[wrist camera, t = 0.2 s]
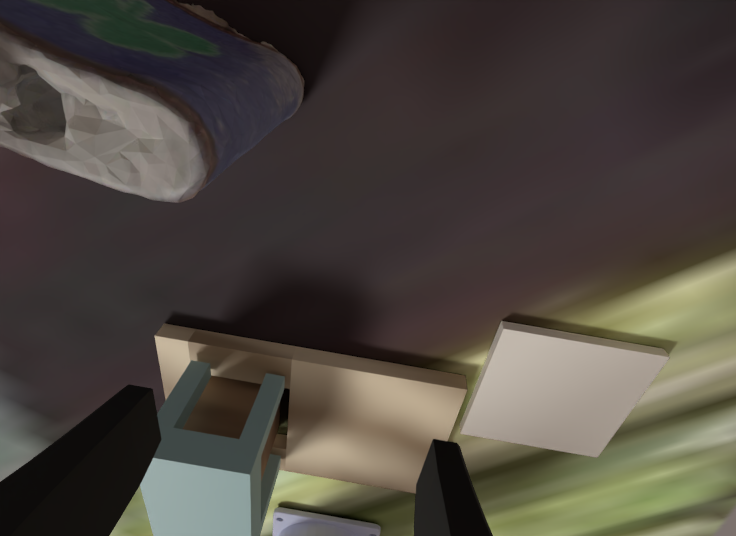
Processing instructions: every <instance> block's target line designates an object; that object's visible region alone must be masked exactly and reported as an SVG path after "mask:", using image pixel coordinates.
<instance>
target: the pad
mask: <svg viewBox="0 0 736 536" xmlns="http://www.w3.org/2000/svg"><path fill="white" fill-rule="evenodd" d="M669 358H670V357H669V355H668V354H667V353H666V351H665V350H664V349H663V348H657V347H651V346H645V345H639V344H633V343H628V342H622V341H616V340H610V339H604V338H599V337H593V336H587V335H581V334H575V333H570V332H564V331H558V330H552V329H546V328H541V327H535V326H529V325H523V324H517V323H511V322H506V321H501V323H500V326H499V328H498V330H497V333H496V335H495V338H494V340H493V343H492V345H491V348H490V350H489V353H488V355H487V358H486V360H485V363H484V365H483V368H482V370H481V373H480V375H479V378H478V380H477V383H476V385H475V388H474V390H473V392H472V395H471V397H470V400H469V402H468V405H467V407H466V410H465V412H464V415H463V417H462V420H461V422H460V425H459V426H460V434H464V435H470V436H476V437H481V438H487V439H493V440H499V441H505V442H510V443H516V444H522V445H528V446H533V447H539V448H545V449H551V450H556V451H562V452H568V453H574V454H579V455H585V456H591V457H598V456H599V455H600V453H601V452H602V451H603V449H604V448H605V446H606V445H607V444H608V442H609V441H610V439H611V438H612V437H613V435H614V434H615V433H616V431H617V430H618V428H619V427H620V426H621V424H622V423H623V422H624V420H625V419H626V417H627V416H628V415H629V413H630V412H631V411H632V409H633V408H634V406H635V405H636V404H637V402H638V401H639V400H640V398H641V397H642V395H643V394H644V393H645V391H646V390H647V388H648V387H649V386H650V384H651V383H652V382H653V380H654V379H655V377H656V376H657V375H658V373H659V372H660V371H661V369H662V368H663V366H664V365H665V364H666V362H667V361H668V360H669Z"/></svg>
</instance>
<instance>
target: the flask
mask: <svg viewBox="0 0 736 536" xmlns="http://www.w3.org/2000/svg"><path fill="white" fill-rule="evenodd" d="M303 94H304V79H303V77H302V76H301V73H300V71H299V69H298V68H297V66H296V65H295V64H293V63H292V62H291V61H290V60H289V59H288V58H287V57H286V56H285V55H283V54H281V53H280V52H278V51H277V50H276V49H275V48H274V47H273V46H272V45H271V44H267V42H264V41H262V42H261V43H257V42H255V41H251V40H250V39H248V38H247V37H245V36H243V35H242V34H241V33H237V31H236V30H235V29H234V28H231V27H230V26H228V22H227V21H225V20H223V19H221V18H219V17H217V16H216V15H215V14H214V12H213V11H208V10H205V9H204V8H203V7H201V6H200V5H194V4H192V6H190V5H189V4H187V3H186V4H184V3H178V2H177V1H176V0H175V1H174V0H0V146H1V147H5V148H8V149H10V150H12V151H14V152H16V153H18V154H20V155H22V156H24V157H28V158H32V159H34V160H36V161H38V162H40V163H42V164H44V165H46V166H49V167H52V168H55V169H59V170H62V171H65V172H69V173H72V174H75V175H78V176H81V177H84V178H87V179H89V180H92V181H94V182H97V183H100V184H102V185H105V186H108V187H110V188H113V189H116V190H118V191H121V192H126V193H131V194H137V195H140V196H143V197H146V198H148V199H151V200H158V201H166V202H177V203H180V202H183V201H186V200H188V199H191V198H194V196H195V195H196V194H197V193H198V191H200V190H201V189H203V188H205V187H206V186H207V185H208V184H209V183H210V182H211V181H212V180H214V179H215V178H216V177H217V176H218V175H219V174H220V173H222V172H223V171H224V170H225V169H226V168H227V167H228V166H230V165H231V164H232V163H233V162H234V161H235V160H236V159H238V158H239V157H240V156H242V155H243V154H245V153H246V152H247V151H249V150H250V149H252V148H253V147H254V146H255V145H256V144H257V143H258V142H259V141H261V140H262V139H263V138H264V137H265V136H266V135H267V134H268V133H270V132H271V131H272V130H273V129H274V128H275V127H277V126H278V125H279V124H280V123H281V122H283V121H284V120H286V119H288V118H290V117H292V116H293V115H294V114H295V112H296V111H297V110H298V108H299V106H300V105H301V103H302V100H303Z"/></svg>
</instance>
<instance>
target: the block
mask: <svg viewBox="0 0 736 536" xmlns="http://www.w3.org/2000/svg"><path fill="white" fill-rule="evenodd" d="M261 385H262V384H258V383H252V382H247V381H241V380H235V379H229V378H224V377H218V376H212V375H211V378H210V380H209V382H208V383H207V385H206V387H205V389H204V391H203V392H202V394H201V396H200V398H199V400H198V401H197V403H196V405H195V407H194V409H193V411H192V412H191V414H190V416H189V418H188V420H187V421H186V423H185V425H184V427H183V430H189V431H195V432H201V433H206V434H212V435H218V436H224V437H229V438H235V439H240V436H241V434H242V431H243V429H244V426H245V424H246V421H247V419H248V417H249V414H250V412H251V409H252V407H253V404H254V402H255V399H256V397H257V394H258V392H259V390H260V387H261ZM279 422H280V403H279V406H278V409H277V412H276V415H275V418H274V421H273V424H272V426H271V429H270V432H269V435H268V438H267V441H266V444H265V447H264V450H263V453H262V456H261V480H262V477H263V474H264V471H265V468H266V465H267V462H268V459H269V456H270V453H271V450H272V447H273V444H274V440H275V437H276V434H277V431H278V428H279Z"/></svg>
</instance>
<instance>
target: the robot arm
mask: <svg viewBox="0 0 736 536" xmlns="http://www.w3.org/2000/svg"><path fill="white" fill-rule="evenodd" d="M161 440H162V439H161V433H160V428H159V422H158V417H157V411H156V406H155V400H154V395H153V389H151V388H145V387H140V386H134V385H127V386H126V387H124V388H123V389H122V390H121V391H119V392H118V393H117V394H115V395H114V396H113V397H112V398H110V399H109V400H108V401H107V402H105V403H104V404H103V405H102V406H100V407H99V408H98V409H97V410H95V411H94V412H93V413H92V414H90V415H89V416H88V417H87V418H85V419H84V420H83V421H81V422H80V423H79V424H78V425H76V426H75V427H74V428H73V429H71V430H70V431H69V432H67V433H66V434H65V435H63V436H62V437H61V438H59V439H58V440H57V441H56V442H54V443H53V444H52V445H50V446H49V447H48V448H46V449H45V450H44V451H42V452H41V453H40V454H38V455H37V456H36V457H34V458H33V459H32V460H30V461H29V462H28V463H26V464H25V465H23V466H22V467H21V468H19V469H18V470H16V471H15V472H14V473H12V474H11V475H9V476H8V477H6V478H5V479H4V480H2V481H1V482H0V536H109V535H110V534H111V532H112V530H113V529H114V527H115V525H116V524H117V522H118V520H119V519H120V517H121V516H122V514H123V512H124V511H125V509H126V507H127V506H128V504H129V502H130V501H131V499H132V497H133V496H134V494H135V492H136V491H137V489H138V487H139V485H140V484H141V482H142V480H143V478H144V476H145V474H146V472H147V470H148V468H149V466H150V464H151V462H152V459H153V457H154V455H155V453H156V451H157V448H158V446H159V444H160V442H161ZM380 531H381V527H380V526H379V525H377V524H374V523H368V522H362V521H357V520H351V519H345V518H339V517H334V516H328V515H322V514H317V513H311V512H305V511H299V510H294V509H288V508H282V507H278V508H276V509H275V511H274V514H273V536H380ZM414 536H493V535H492V533H491V530H490V528H489V526H488V523H487V521H486V518H485V516H484V513H483V511H482V508H481V506H480V503H479V501H478V498H477V495H476V493H475V490H474V487H473V485H472V482H471V479H470V476H469V473H468V470H467V467H466V464H465V461H464V458H463V455H462V452H461V449H460V446H459V445H458V444H457V443H454V442H449V441H443V440H437V439H433V440H432V443H431V446H430V448H429V451H428V454H427V456H426V459H425V462H424V465H423V467H422V470H421V473H420V475H419V478H418V481H417V484H416V496H415V517H414Z"/></svg>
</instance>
